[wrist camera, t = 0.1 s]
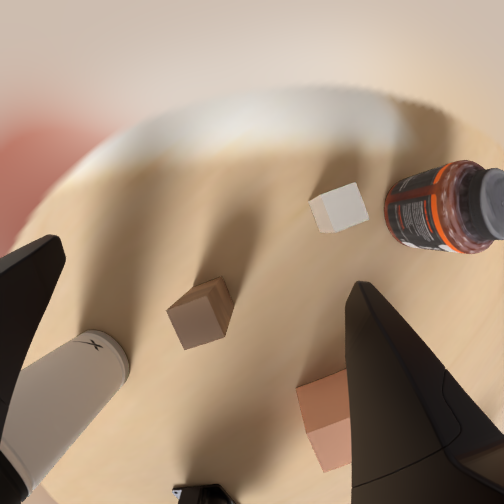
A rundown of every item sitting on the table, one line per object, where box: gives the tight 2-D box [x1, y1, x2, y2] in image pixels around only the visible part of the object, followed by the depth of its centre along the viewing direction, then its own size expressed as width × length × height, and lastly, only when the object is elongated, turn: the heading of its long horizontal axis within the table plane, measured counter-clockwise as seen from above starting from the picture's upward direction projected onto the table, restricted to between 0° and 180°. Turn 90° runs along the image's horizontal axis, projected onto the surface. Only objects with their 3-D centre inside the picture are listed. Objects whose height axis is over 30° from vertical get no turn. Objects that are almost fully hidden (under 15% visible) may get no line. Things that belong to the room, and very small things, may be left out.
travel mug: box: [0, 330, 129, 504], centre depth 14 cm, size 6×7×20 cm
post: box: [166, 276, 234, 350], centre depth 19 cm, size 3×3×7 cm
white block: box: [308, 182, 369, 233], centre depth 20 cm, size 3×3×4 cm
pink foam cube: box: [296, 369, 352, 472], centre depth 20 cm, size 5×5×7 cm
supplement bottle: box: [384, 160, 504, 254], centre depth 16 cm, size 6×6×11 cm
